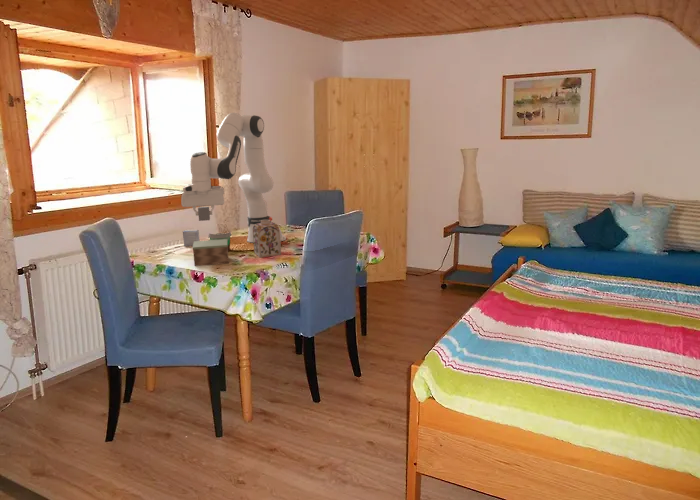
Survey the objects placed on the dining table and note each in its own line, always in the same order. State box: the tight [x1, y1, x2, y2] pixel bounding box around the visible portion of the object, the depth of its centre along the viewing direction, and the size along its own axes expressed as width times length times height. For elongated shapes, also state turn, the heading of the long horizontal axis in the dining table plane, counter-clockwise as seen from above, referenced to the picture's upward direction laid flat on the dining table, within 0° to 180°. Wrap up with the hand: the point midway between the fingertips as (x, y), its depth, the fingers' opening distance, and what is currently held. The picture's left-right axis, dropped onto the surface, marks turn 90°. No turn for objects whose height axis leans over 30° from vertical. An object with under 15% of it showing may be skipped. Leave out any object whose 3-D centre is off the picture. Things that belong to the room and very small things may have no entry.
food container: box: [208, 231, 232, 252], centre depth 291 cm, size 12×6×10 cm, turn 117°
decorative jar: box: [252, 220, 282, 258], centre depth 280 cm, size 12×12×18 cm
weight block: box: [197, 206, 211, 222], centre depth 266 cm, size 5×5×6 cm
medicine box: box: [182, 229, 201, 247], centre depth 308 cm, size 8×4×9 cm, turn 84°
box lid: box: [191, 239, 228, 250], centre depth 268 cm, size 16×12×1 cm
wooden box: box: [192, 247, 229, 267], centre depth 269 cm, size 16×12×8 cm
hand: (204, 215), depth 266 cm, fingers closed on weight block, 5 cm apart
